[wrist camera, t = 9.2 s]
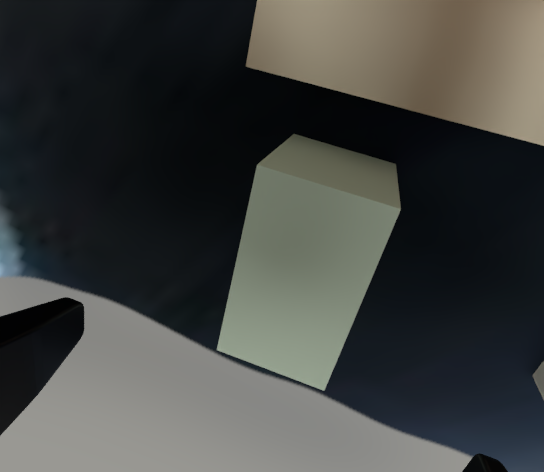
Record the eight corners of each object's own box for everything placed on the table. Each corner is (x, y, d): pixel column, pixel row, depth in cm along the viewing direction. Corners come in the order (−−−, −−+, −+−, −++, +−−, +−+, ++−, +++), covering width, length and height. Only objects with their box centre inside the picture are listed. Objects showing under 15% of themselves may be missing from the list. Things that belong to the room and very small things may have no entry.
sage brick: (294, 133, 15) (257, 164, 11) (395, 163, 14) (401, 209, 10) (257, 279, 18) (216, 350, 14) (339, 307, 18) (324, 390, 13)
